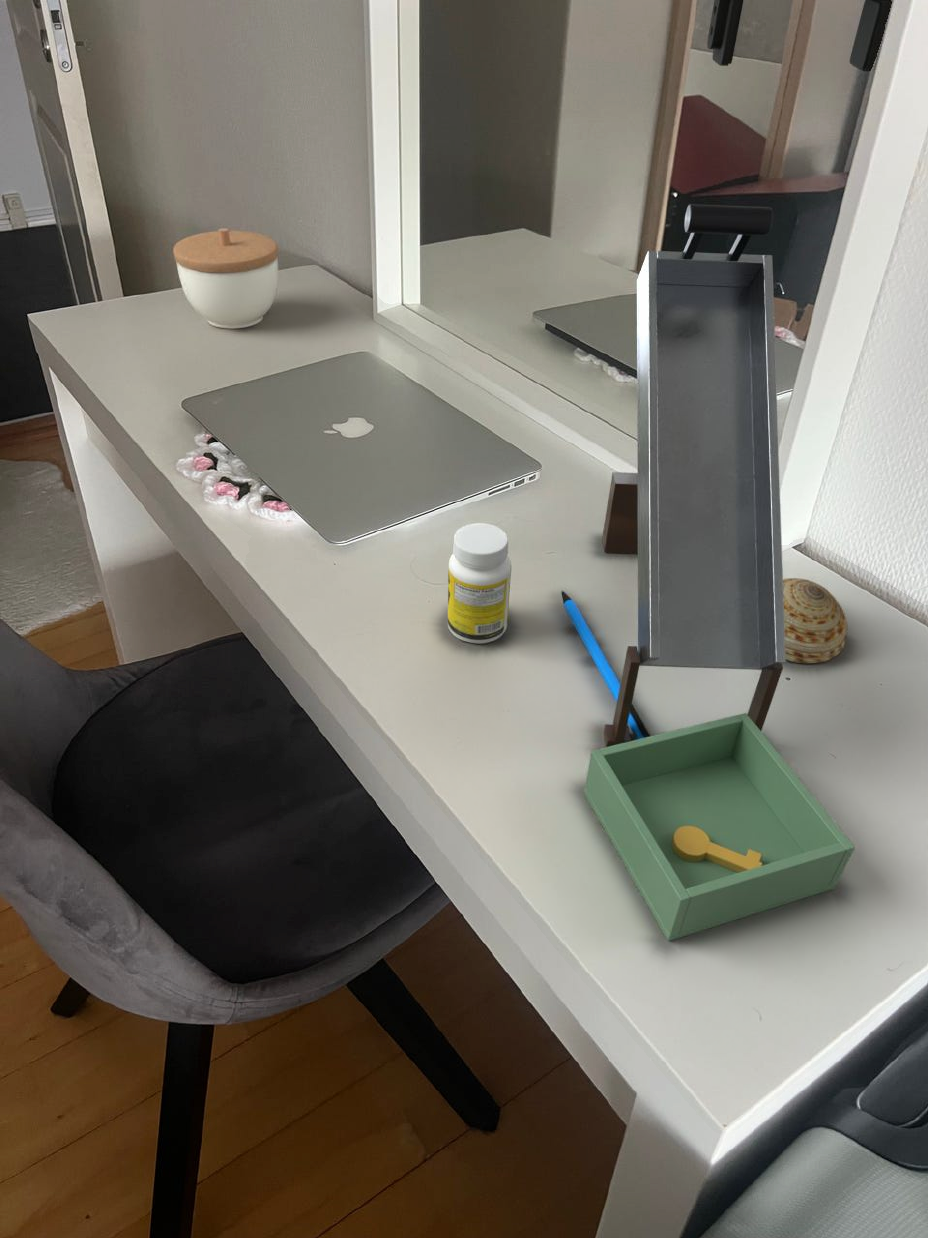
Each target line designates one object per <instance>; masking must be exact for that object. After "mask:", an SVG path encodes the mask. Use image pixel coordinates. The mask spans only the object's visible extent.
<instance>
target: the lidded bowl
mask: <svg viewBox="0 0 928 1238" xmlns="http://www.w3.org/2000/svg"><path fill="white" fill-rule="evenodd" d="M172 252H173V257H174V260H175V262H176V268H177V269H176V270H177V273H178V278H179V281H180V285H181V287H182V290H183V293H184V296H185V297H186V299H187V301H188V303H189V304H190V305H191V307H192V308H193V309H194V310H195V312H197V313H198V314H199V315H200V316H202V317H203V318H204V319H206V322H207V323H208V324H209V325H211V326H213V327H216V328H222V329H231V330H232V329H235V330H236V329H244V328H249V327H253V326H255V325H258V324H259V323H261V322H262V321H263V319H264V316H265V315H266V314H267V312H268V311H269V310H270V308H271V307H272V306H273V303H274V302H275V300H276V296H277V293H278V288H279V262H278V259H279V258H278V256H279V247H278V244H277V243H276V241H275V240H274V239H273V238H271V237H269V236H267V235H264V234H261V233H257V232H253V231H252V232H251V231H246V230H245V231H243V230H229V228H225V227H223V228H222V227H221V228H218V230H216V231H206V232H201V233H197V234H193V235H190V236H187V237H185V238H183V239H181V240H179V241H178V242H176V243H175V244H174V246H173V249H172Z"/></svg>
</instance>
